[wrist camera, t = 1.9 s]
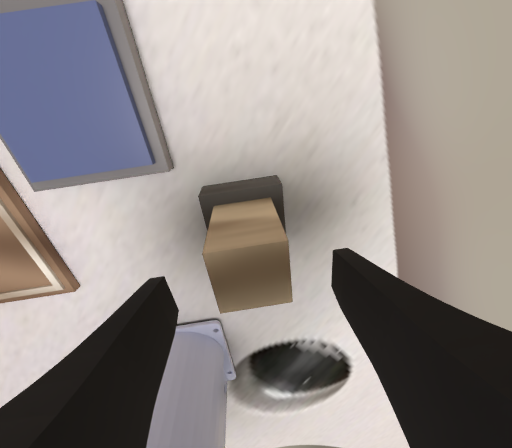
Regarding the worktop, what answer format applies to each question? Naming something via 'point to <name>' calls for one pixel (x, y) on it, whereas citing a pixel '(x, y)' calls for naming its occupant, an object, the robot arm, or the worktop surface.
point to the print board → (27, 253)
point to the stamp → (246, 243)
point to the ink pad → (75, 94)
